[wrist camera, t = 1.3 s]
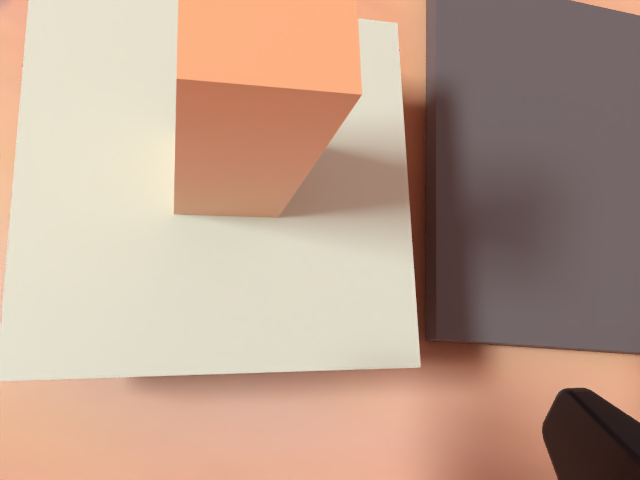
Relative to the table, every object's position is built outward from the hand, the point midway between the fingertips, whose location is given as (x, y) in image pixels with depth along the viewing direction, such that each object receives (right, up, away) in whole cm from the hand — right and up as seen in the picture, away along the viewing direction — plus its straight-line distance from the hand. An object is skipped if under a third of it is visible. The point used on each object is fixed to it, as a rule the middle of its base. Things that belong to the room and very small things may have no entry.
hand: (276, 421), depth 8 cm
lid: (-3, +4, +11) cm, 12 cm away
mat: (+11, +6, +18) cm, 22 cm away
